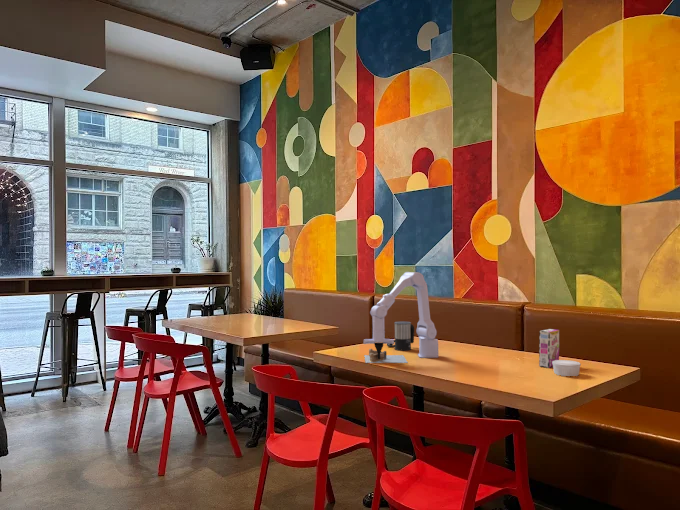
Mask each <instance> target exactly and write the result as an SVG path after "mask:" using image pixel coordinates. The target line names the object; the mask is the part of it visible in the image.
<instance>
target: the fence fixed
mask: <svg viewBox="0 0 680 510" xmlns="http://www.w3.org/2000/svg"><path fill="white" fill-rule="evenodd" d="M370 353H373V354H378V353H377V350H374V349H373V348H369V349H368V355H369V356H370ZM381 353H384V359H386V355H387V350H383V351H381Z"/></svg>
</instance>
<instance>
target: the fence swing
mask: <svg viewBox="0 0 680 510" xmlns="http://www.w3.org/2000/svg"><path fill="white" fill-rule="evenodd" d="M380 359H384V353H380ZM374 360H379V359H378V354H373V353H370V361H374Z"/></svg>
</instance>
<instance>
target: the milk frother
mask: <svg viewBox="0 0 680 510" xmlns="http://www.w3.org/2000/svg"><path fill="white" fill-rule="evenodd" d="M411 323H412V322H410V321H395V322H394V344H386V346H387V347H389V348H394V350H395V351H403V352H404V351H405V352H406V351H411V350H412V345H411V344H414V343H415V326H414V324H411Z"/></svg>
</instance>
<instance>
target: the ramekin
mask: <svg viewBox="0 0 680 510" xmlns="http://www.w3.org/2000/svg"><path fill="white" fill-rule="evenodd" d="M552 364H553V367H552V368H553V373H554V374H555V375H556V374H557V375H556V376H559V375H561V376H560V377H565V376H576V377H577V376H579V374H580V368H581V363H580V362H579V361H575V360H569V359H568V360H567V359H559V360H555V361H552Z"/></svg>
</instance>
